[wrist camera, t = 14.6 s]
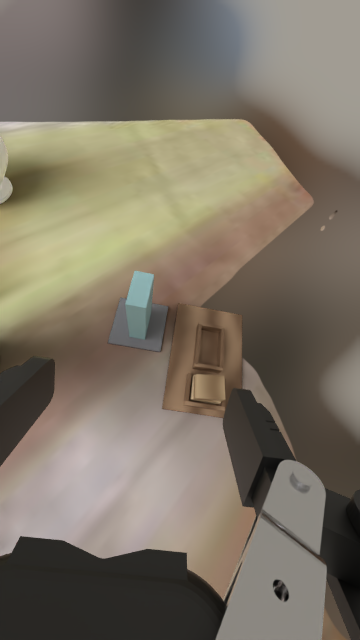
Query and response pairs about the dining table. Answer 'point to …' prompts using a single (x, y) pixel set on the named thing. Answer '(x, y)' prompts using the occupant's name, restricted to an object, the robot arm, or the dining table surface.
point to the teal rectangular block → (139, 304)
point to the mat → (154, 329)
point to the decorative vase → (3, 188)
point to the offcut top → (209, 387)
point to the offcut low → (199, 400)
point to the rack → (203, 357)
